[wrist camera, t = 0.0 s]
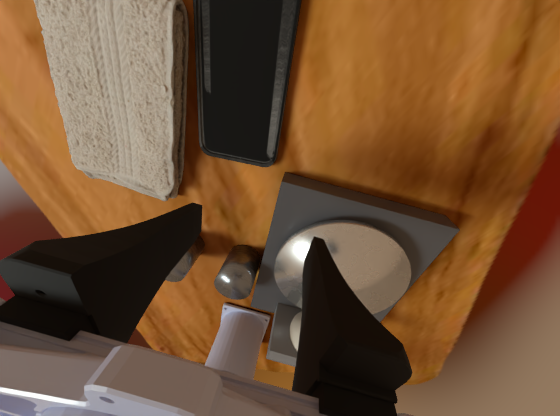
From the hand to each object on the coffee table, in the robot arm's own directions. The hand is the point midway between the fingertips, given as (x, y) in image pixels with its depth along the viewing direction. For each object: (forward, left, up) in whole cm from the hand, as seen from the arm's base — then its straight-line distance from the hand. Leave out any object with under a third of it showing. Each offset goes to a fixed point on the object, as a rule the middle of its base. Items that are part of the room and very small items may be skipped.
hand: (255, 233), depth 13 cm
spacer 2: (-13, +2, -10) cm, 17 cm away
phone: (+8, +5, -11) cm, 14 cm away
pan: (-8, -9, -7) cm, 14 cm away
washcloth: (+3, +16, -11) cm, 20 cm away
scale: (-9, -9, -10) cm, 16 cm away
